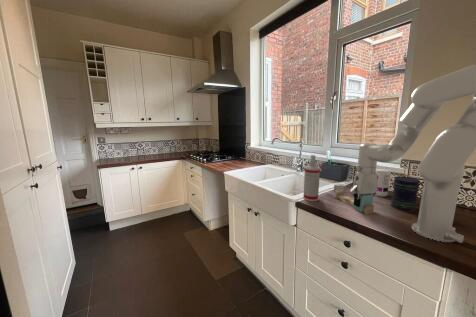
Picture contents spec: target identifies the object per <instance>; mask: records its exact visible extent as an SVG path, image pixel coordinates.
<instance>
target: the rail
mask: <svg viewBox="0 0 476 317" xmlns="http://www.w3.org/2000/svg"><path fill="white" fill-rule="evenodd" d="M333 186H334V187H333V195H332V196H333V199H337V200H339V201H341V202H343V203H345V204H346V205H348V206H351V207H352V208H353V203H354V198H352V197H350V196H347V195H346V194H344V184H342V183H341V184H340V183H339V184H338V183H336V184H334V185H333ZM374 211H375V205H374V204H372V205H365V207H364V208H363V212H362V213H364V214H365V215H371V214H374Z"/></svg>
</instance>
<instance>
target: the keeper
mask: <svg viewBox="0 0 476 317" xmlns="http://www.w3.org/2000/svg"><path fill="white" fill-rule="evenodd" d="M357 196H358V193H357ZM359 199H360V207H357V206H355V205H354V203H353V207H352V208H353V209H354V210H356V211H358V212H360V213H364V212H363V208H364V207H365V205H373V202H374V201H373V200H374V197H373V194H361V196H360V198H359Z"/></svg>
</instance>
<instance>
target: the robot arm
mask: <svg viewBox="0 0 476 317" xmlns="http://www.w3.org/2000/svg"><path fill="white" fill-rule="evenodd" d="M467 96H471V97H472V100H471V101H470V103H469V105H468V106H467V107H466V108H465V109H464V111H463V113H462V114H461V116H460V117H459V118H458V120H457V121H456V123H455V124H454V125H452V126H450V127H447V128H446V129H444V130H442V131H441V132H440V133H439V134H438V136H437V137H436V138H435V139H434V141H433V143H432V144H431V146H430V147H429V149H428V150H427V152H426V153H425V154H424V156H423V157H422V159H421V161H420V162H419V165H418V172H419V174H420V176H421V177H422V178H423V179H424V182H423V185H422V191H421V192H422V193H421V197H420V203H419V204H420V205H419V210H418V216H417V217H418V218H417V222H415V223H412V224H411V227H410V228H411V231H413V232H414V233H415V232H416V233H415V234H417V235H419V236H422V237H423V238H426V239H428V238H429V239H428V240H432V239H433V240H432V241H435V240H436V242H440V241H441V242H442V243H453V242H458V243H460V244H462V243H464V238H465V235H463V234H460V233H457V232H456V227H454V226H453V224H454V218H455V214H456V208H457V203H458V198H459V193H460V188H461V184H462V180H463V176H464V174H465V170H466V167H465V163H466V162H467V160H469V158H470V157H471V156H472V154H473V153H474V152H475V151H476V64H471V65H469V66H466V67H463V68H461V69H458V70H455V71H453V72H449V73H447V74H445V75H442V76H439V77H437V78H434V79H431V80H429V81H427V82H424V83H422V84H420V85H418V86H417V87H416V88H415V89H414V90H413V92H412V93H411V97H410V99H411V104H410V105H409V107H408V108H407V109H406V111H404V113H403V114H402V115H401V117H400V118H399V120H398V131H397V133H396V134H395V135H394V137H393V138H392V140H391V141H390V142H389V143H388V144H382V145H379V144H376V143H369V142H368V143H365V142H364V143H361V144H359V148H358V158H357V159H358V160H357V167H356V168H355V169H356V172H355V175H354V178H353V184H352V187H351V189H350V190H349V193H350V194H351V196H352V197H353V199H354V205H355V206H357V207H360V199H359V198H360V196H361V194H373V198H374V197H375V196H376V195H375V194H376V192H377V191H378V188H377V183H378V179H377V173H376V169H377V165H378V163H390V162H392V161H397V160H399V159H401V158H402V157H403V156H404V155H405V154H406V153H407V152H408V151H409V150H410V148H411V147H412V146H413V145H414V144H415V142H416V141H417V139H418V137H419V136H420V134H421V133H422V131H423V130H424V128H426V126H427V125H428V124H429V123H430V122H431V120H432V119H433V118H434V117H435V116H436V115H437V114H438V112H439V111H440V110H441V109H442V108H443V107H444V105H446V103H448V102H451V101H453V100H457V99H460V98H463V97H467ZM357 193H358V196H357Z"/></svg>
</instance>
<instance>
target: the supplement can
mask: <svg viewBox="0 0 476 317" xmlns="http://www.w3.org/2000/svg"><path fill="white" fill-rule="evenodd" d="M376 173H377V179H378V183H377V188H378V191H377V192H376V194H375V195H374V196H376V197H387V196H388V195H389V187H390V181H391V180H390V179H391V171H390V170H389V169H386V168H376Z"/></svg>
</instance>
